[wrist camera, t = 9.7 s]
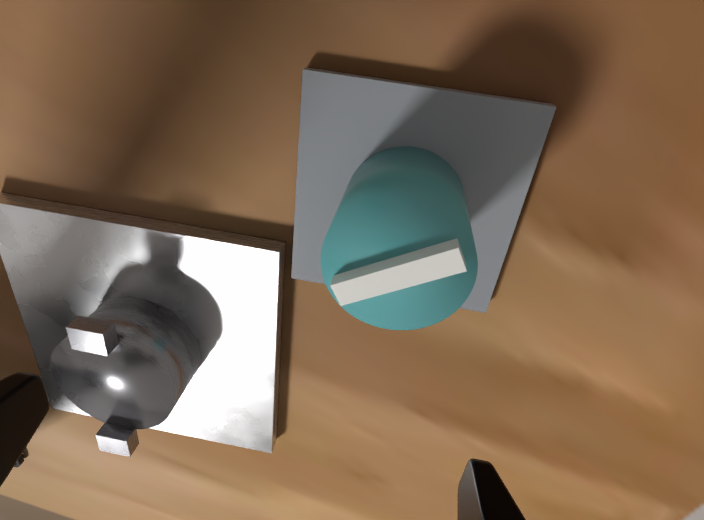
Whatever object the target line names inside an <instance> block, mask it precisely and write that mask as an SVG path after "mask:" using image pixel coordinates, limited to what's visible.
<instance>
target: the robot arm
mask: <svg viewBox="0 0 704 520" xmlns="http://www.w3.org/2000/svg"><path fill="white" fill-rule="evenodd" d="M48 409H49V399H48V396H47V392H46V389H45V386H44V383H43V380H42V378H41V377H40V376H38V375H35V374H29V373H24V372H20V373H16V374H13V375H11V376H9V377H7V378H4V379H2V380H0V486H1V485H2V484H3V482H4V481H5V479H6V478H7V476H8V475H9V473H10V472H11V470H12V468H13V467H19V466H20V465H21V464H22V463H23V462H24V459H23V456H22V452H23V451H24V449H25V447H26V446H27V444H28V443H29V441H30V439H31V438H32V436H33V435H34V433H35V431H36V430H37V428H38V427H39V425H40V423H41V422H42V420H43V419H44V417H45V415H46V414H47V411H48ZM458 520H525V518H524V516H523V515H522V513H521V511H520V510H519V508H518V506H517V505H516V503H515V501H514V500H513V498H512V496H511V495H510V493H509V491H508V490H507V488H506V486H505V485H504V483H503V481H502V480H501V478H500V476H499V475H498V473H497V471H496V470H495V468H494V467H493V465H492V464H491V463H490V462H488V461H483V460H478V459H470V460H469V461H468V463H467V465H466V467H465V470H464V472H463V475H462V477H461V480H460V482H459V487H458Z"/></svg>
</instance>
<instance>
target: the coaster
mask: <svg viewBox="0 0 704 520" xmlns="http://www.w3.org/2000/svg"><path fill="white" fill-rule="evenodd" d="M555 110H556V106H555V105H553V104H551V103H544V102H537V101H531V100H524V99H517V98H510V97H504V96H497V95H490V94H483V93H476V92H470V91H463V90H456V89H449V88H443V87H436V86H429V85H422V84H416V83H409V82H402V81H395V80H389V79H382V78H375V77H368V76H362V75H355V74H348V73H341V72H334V71H328V70H321V69H314V68H307V67H306V68H304V69H303V75H302V93H301V111H300V129H299V147H298V164H297V182H296V200H295V218H294V236H293V254H292V272H291V278H294V279H300V280H305V281H311V282H316V283H322V284H325V282H324V279H323V275H322V271H321V250H322V245H323V242H324V239H325V237H326V234H327V232H328V230H329V227H330V225H331V223H332V221H333V218H334V216H335V214H336V211H337V209H338V207H339V204H340V202H341V200H342V198H343V195H344V193H345V191H346V188H347V186H348V184H349V182H350V180H351V178H352V176H353V174H354V173H355V171H356V170H357V168H358V167H359V166H360V165H361V164H362V163H363V162H364V161H365V160H367V159H368V158H369V157H371V156H372V155H374V154H376V153H378V152H380V151H382V150H386V149H389V148H394V147H403V146H408V147H417V148H421V149H425V150H428V151H430V152H432V153H434V154H436V155H438V156H439V157H441V158H442V159H444V160H445V161H446V162H447V163H448V164H449V165H450V166H451V167H452V168H453V169H454V171H455V172H456V174H457V175H458V177H459V179H460V181H461V184H462V186H463V190H464V194H465V199H466V204H467V209H468V214H469V218H470V223H471V228H472V233H473V238H474V242H475V247H476V252H477V259H478V271H477V277H476V281H475V284H474V287H473V289H472V291H471V293H470V295H469V296H468V298H467V299H466V301H465V302H464V303H463V304H462V306H461V307H460V308H462V309H467V310H473V311H478V312H484V313H486V311H487V308H488V305H489V302H490V299H491V296H492V294H493V291H494V288H495V285H496V282H497V279H498V276H499V273H500V270H501V267H502V264H503V261H504V259H505V256H506V253H507V250H508V247H509V244H510V241H511V238H512V235H513V232H514V229H515V227H516V224H517V221H518V218H519V215H520V212H521V209H522V206H523V203H524V200H525V197H526V194H527V192H528V189H529V186H530V183H531V180H532V177H533V174H534V171H535V168H536V165H537V162H538V160H539V157H540V154H541V151H542V148H543V145H544V142H545V139H546V136H547V133H548V130H549V128H550V125H551V122H552V119H553V116H554V113H555Z"/></svg>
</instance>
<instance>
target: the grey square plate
mask: <svg viewBox="0 0 704 520" xmlns="http://www.w3.org/2000/svg"><path fill="white" fill-rule="evenodd" d="M0 254H1V257H2V260H3V263H4V266H5V269H6V272H7V275H8V278H9V281H10V284H11V287H12V290H13V293H14V296H15V299H16V302H17V305H18V308H19V310H20V313H21V316H22V319H23V322H24V325H25V328H26V331H27V334H28V337H29V340H30V343H31V346H32V349H33V352H34V355H35V358H36V361H37V364H38V367H39V370H40V373H41V376H42V379H43V382H44V385H45V388H46V390H47V393H48V396H49V399H50V402H51V405H52V408H53V409H58V410H63V411H68V412H73V413H78V414H83V415H88V416H92V417H94V418H96V419H98V420H100V421H102V422H105V423H104V425H103V426H102V427H101V429H100V430H99V431H98V433H97V434H96V438H97V442H98V446H99V449H100V451H104V452H109V453H114V454H119V455H123V456H128V457H130V456H131V455H132V453H133V452H134V450H135V449H136V447H137V446H138V444H139V441H138V436H137V431H136V429H146V428H151V429H156V430H161V431H166V432H171V433H175V434H180V435H185V436H190V437H195V438H200V439H205V440H210V441H215V442H219V443H224V444H229V445H234V446H239V447H244V448H249V449H254V450H258V451H263V452H268V453H272V451H273V448H274V445H275V442H276V438H277V417H278V395H279V373H280V351H281V329H282V307H283V285H284V263H285V242H283V241H277V240H271V239H266V238H260V237H254V236H248V235H243V234H237V233H231V232H225V231H220V230H214V229H208V228H202V227H197V226H191V225H185V224H179V223H174V222H168V221H162V220H156V219H150V218H145V217H139V216H133V215H127V214H122V213H116V212H110V211H104V210H99V209H93V208H87V207H81V206H76V205H70V204H64V203H58V202H53V201H47V200H41V199H35V198H30V197H24V196H18V195H12V194H7V193H1V192H0Z"/></svg>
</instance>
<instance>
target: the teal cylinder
mask: <svg viewBox="0 0 704 520" xmlns="http://www.w3.org/2000/svg"><path fill="white" fill-rule="evenodd" d="M321 271H322V275H323V279H324V282H325V284H326V286H327V288H328V290H329V292H330V293H331V295H332V297H333V298H334V299H335V300H336V302H337V303H338V304H339V305H340V306H341V307H342V308H343V309H344V310H346V311H347V312H348V313H349V314H351V315H352V316H354V317H356V318H357V319H359V320H361V321H363V322H365V323H367V324H370V325H373V326H376V327H380V328H384V329H391V330H413V329H419V328H424V327H427V326H430V325H433V324H435V323H438V322H440V321H442V320H444V319H445V318H447V317H449V316H450V315H451V314H453V313H454V312H455V311H456V310H457V309H458V308H460V307H461V306H462V304H463V303H464V302H465V301H466V299H467V298H468V296H469V295H470V293H471V291H472V289H473V287H474V284H475V281H476V277H477V271H478V259H477V252H476V247H475V242H474V238H473V233H472V228H471V223H470V218H469V214H468V209H467V204H466V199H465V194H464V190H463V186H462V184H461V181H460V179H459V177H458V175H457V174H456V172H455V171H454V169H453V168H452V167H451V166H450V165H449V164H448V163H447V162H446V161H445V160H444V159H442V158H441V157H439V156H438V155H436V154H434V153H432V152H430V151H428V150H425V149H421V148H417V147H408V146H403V147H394V148H389V149H386V150H382V151H380V152H378V153H376V154H374V155H372V156H371V157H369V158H368V159H367V160H365V161H364V162H363V163H362V164H361V165H360V166H359V167H358V168H357V170H356V171H355V173H354V174H353V176H352V178H351V180H350V182H349V184H348V186H347V188H346V191H345V193H344V195H343V198H342V200H341V202H340V204H339V207H338V209H337V211H336V214H335V216H334V218H333V221H332V223H331V225H330V227H329V230H328V232H327V234H326V237H325V239H324V242H323V245H322V250H321Z"/></svg>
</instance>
